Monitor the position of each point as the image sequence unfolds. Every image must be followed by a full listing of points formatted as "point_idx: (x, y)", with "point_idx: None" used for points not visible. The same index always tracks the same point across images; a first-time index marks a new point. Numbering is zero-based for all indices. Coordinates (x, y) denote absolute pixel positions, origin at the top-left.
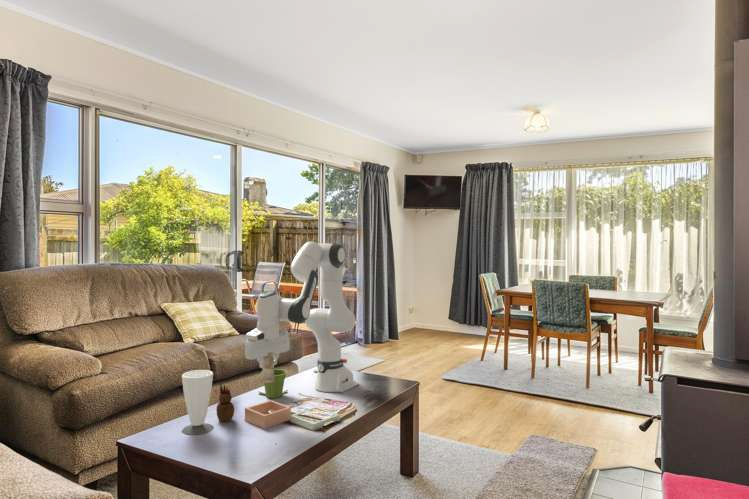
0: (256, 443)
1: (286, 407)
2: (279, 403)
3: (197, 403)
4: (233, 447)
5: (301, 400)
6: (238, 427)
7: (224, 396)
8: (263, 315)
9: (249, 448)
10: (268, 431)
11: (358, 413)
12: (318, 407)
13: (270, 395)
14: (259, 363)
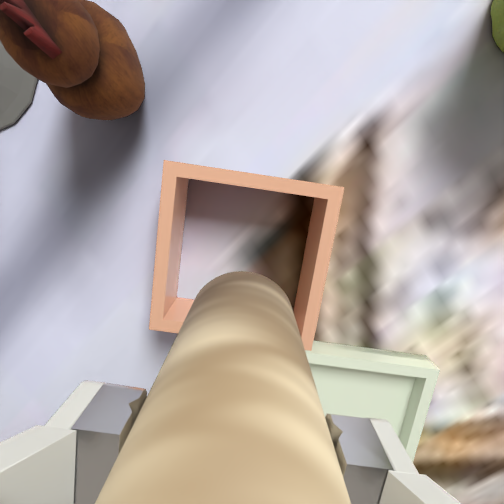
0: (54, 376)
1: (301, 331)
2: (325, 266)
3: None
4: None
5: None
6: (106, 204)
7: (9, 54)
8: None
9: (12, 385)
10: (157, 335)
11: (493, 486)
12: (433, 385)
13: (500, 22)
14: (48, 423)
